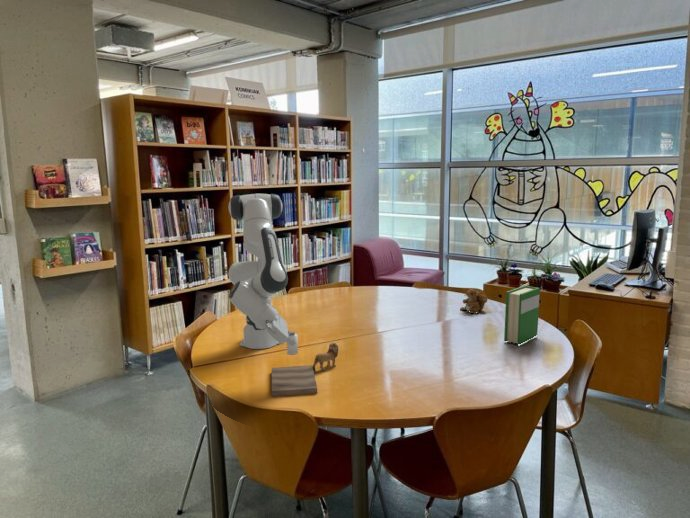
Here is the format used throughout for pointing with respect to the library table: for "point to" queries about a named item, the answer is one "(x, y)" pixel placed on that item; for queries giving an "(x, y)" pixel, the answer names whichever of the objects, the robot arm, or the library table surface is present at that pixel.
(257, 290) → the robot arm
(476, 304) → the stuffed squirrel
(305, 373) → the display block
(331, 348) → the lion figurine
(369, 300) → the library table surface
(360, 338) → the library table surface
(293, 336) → the connector casing
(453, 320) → the library table surface
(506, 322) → the hardback book
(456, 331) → the library table surface
